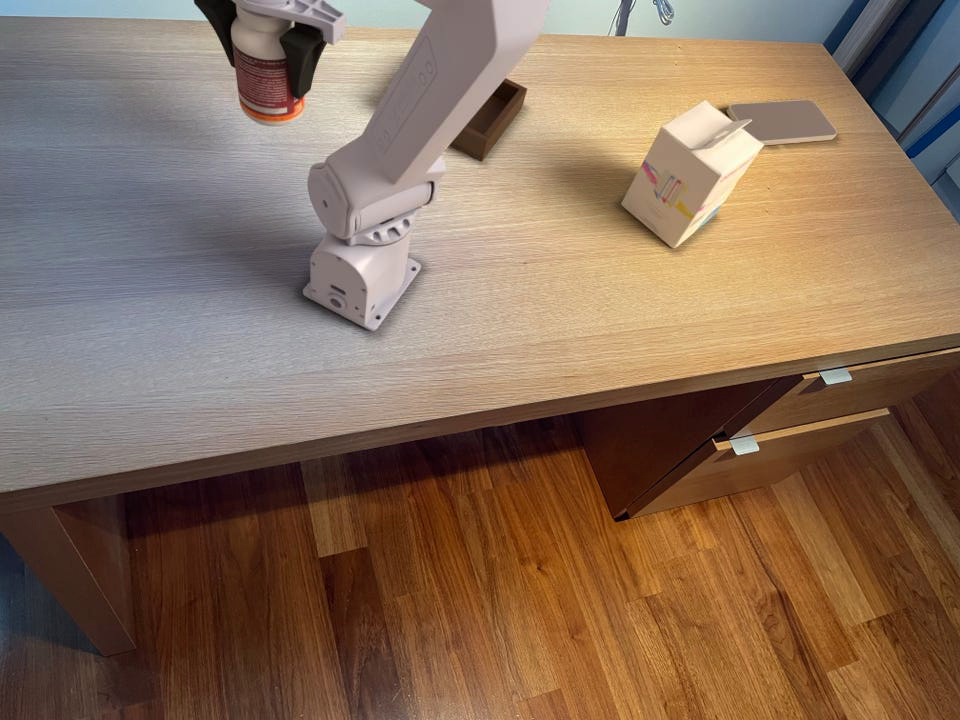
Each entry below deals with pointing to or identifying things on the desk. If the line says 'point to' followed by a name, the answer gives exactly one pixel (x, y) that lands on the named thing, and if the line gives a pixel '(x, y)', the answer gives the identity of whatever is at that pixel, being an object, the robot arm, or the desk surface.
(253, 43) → the pill bottle
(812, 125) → the smartphone
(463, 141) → the tray
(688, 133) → the ink box
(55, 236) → the desk surface
